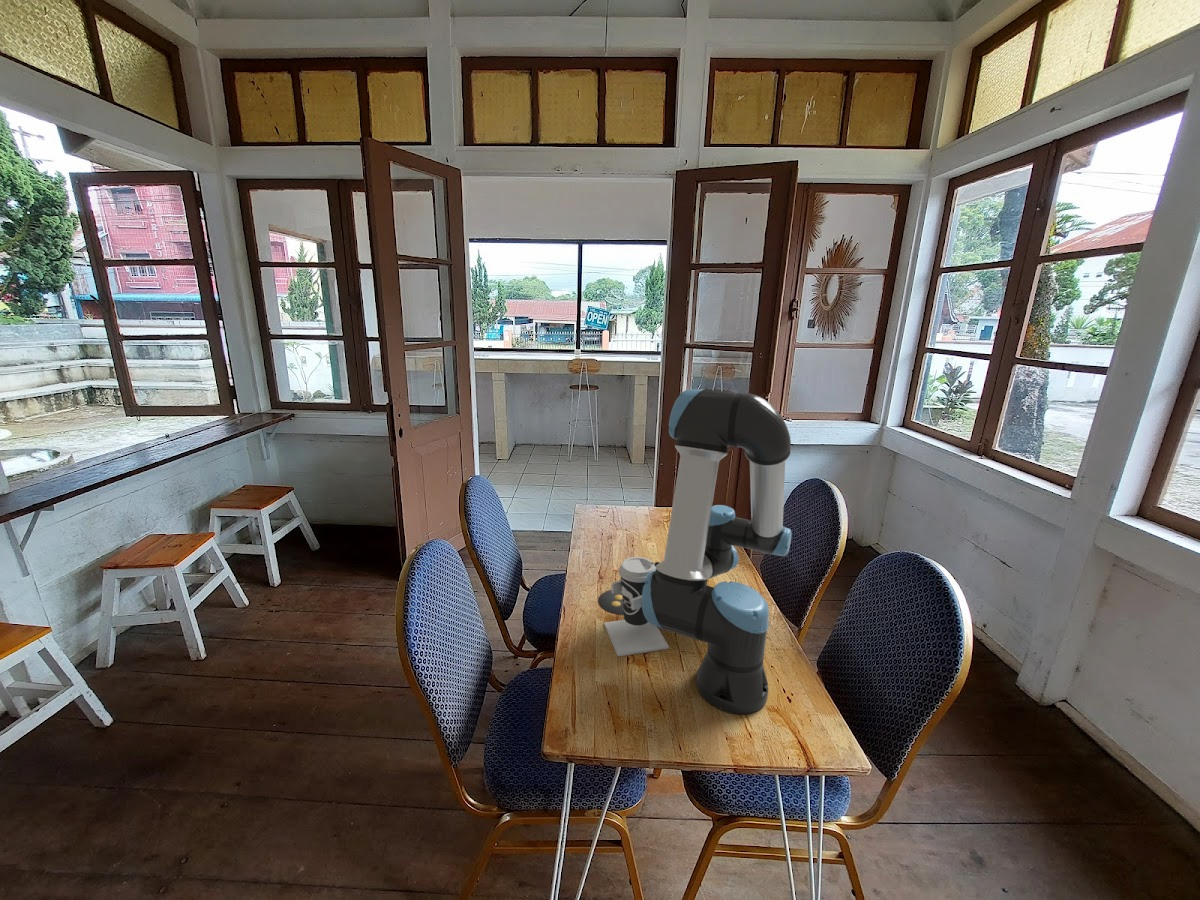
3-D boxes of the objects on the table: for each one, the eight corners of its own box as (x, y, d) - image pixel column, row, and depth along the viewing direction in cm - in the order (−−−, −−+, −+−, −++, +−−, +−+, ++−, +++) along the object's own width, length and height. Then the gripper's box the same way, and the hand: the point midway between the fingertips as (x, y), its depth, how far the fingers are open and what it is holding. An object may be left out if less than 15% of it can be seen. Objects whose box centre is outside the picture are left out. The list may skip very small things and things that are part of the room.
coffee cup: (653, 631, 120) (655, 576, 116) (614, 626, 122) (615, 572, 118) (657, 609, 129) (659, 557, 125) (621, 604, 131) (622, 553, 127)
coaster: (650, 611, 137) (650, 611, 137) (604, 617, 134) (604, 617, 134) (635, 586, 149) (635, 586, 149) (593, 591, 146) (593, 591, 146)
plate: (668, 648, 122) (668, 646, 121) (617, 656, 118) (617, 654, 118) (650, 618, 134) (650, 616, 134) (603, 624, 131) (604, 622, 130)
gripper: (718, 600, 126) (648, 631, 114) (664, 566, 142) (598, 590, 130) (720, 574, 124) (649, 603, 111) (666, 542, 140) (598, 564, 128)
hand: (622, 596), depth 121 cm, fingers closed on coffee cup, 8 cm apart
